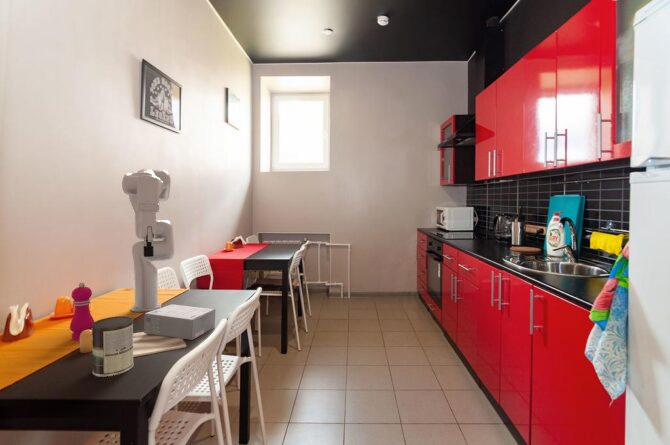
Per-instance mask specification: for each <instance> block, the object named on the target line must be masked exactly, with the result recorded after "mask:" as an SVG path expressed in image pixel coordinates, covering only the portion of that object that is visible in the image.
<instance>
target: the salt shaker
mask: <svg viewBox="0 0 670 445" xmlns="http://www.w3.org/2000/svg"><path fill="white" fill-rule="evenodd" d="M79 352H80V353H81V354H85V353H90V352H93V345H92V329H91V330H90V329H87V330H84V331H83V332H82V333H81V335H80V340H79Z"/></svg>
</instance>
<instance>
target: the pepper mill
mask: <svg viewBox="0 0 670 445" xmlns="http://www.w3.org/2000/svg"><path fill="white" fill-rule="evenodd" d="M92 295H93V291H92V289H91V288H90V287H88V286H86V284H85V283H84V282H80V283H78V287H75V288H74V289H73V290H72V292H71V298H72V300H74V301H73V304H72V305H73V306H74V314H73V317H72V318H71V321H70V324H69V330H71V331H72V333H71V340H73V341H80V335H81V333H82V332H83V331H84V330H87V329H90V330H92V323H94V322H95V320H94V318H93V316H92V314H91V313H90V304H91V299H90V298H91V297H92Z"/></svg>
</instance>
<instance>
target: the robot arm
mask: <svg viewBox="0 0 670 445" xmlns="http://www.w3.org/2000/svg"><path fill="white" fill-rule="evenodd" d="M121 189H122V192H123V194H125V195H127V196H128V197H129V198H128V199H129V201H130V205H131V207H132V209H133V211H134V216H135V217H134V220H135V222H134V229H135V236H136V238H137V239H138V240H139V241H138V242H137V241H136V242H134V244H133V245H132V246H131V254H132V260H133V270H134V274H133V275H134V305H131V307H130V311H132V312H136V313H140V312H141V313H143V312H144V313H147V312H150V311H153V310H156V309H159V308H162V303H160V302H159V300H158V298H159V296H158V295H159V293H158V292H159V289H158V287H159V286H158V284H159V283H158V274H159V273H158V269H157V267H156V266H155V265H154V263H152V262H158V261H159V262H160V261H170V260H172V259H173V258H174V256H175V245H174V244H175V242H174V231H173V225H172V222H171V221H169V220H166V219H157V213H159V212H160V202H167V201H168V200H169V199H170V190H171V176H170V174H169V172H168V171H167V170H164V169H151V168H150V169H149V168H148V169H147V168H143V169H142V168H141V169H139V170H138V171H136V172H131V173H130V172H129V173H125V174H124V175H123V177H122V180H121ZM141 240H142V241H141Z"/></svg>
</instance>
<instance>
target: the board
mask: <svg viewBox="0 0 670 445" xmlns="http://www.w3.org/2000/svg"><path fill="white" fill-rule="evenodd" d="M182 348H187V344H186V342H185V341H184V339H182V338H174V337H167V336H160V335H153V334H146V333H144V331H140V332H133V358H136V357H141V356H146V355H152V354H156V353H157V354H158V353H163V352H169V351H173V350H178V349H182Z"/></svg>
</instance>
